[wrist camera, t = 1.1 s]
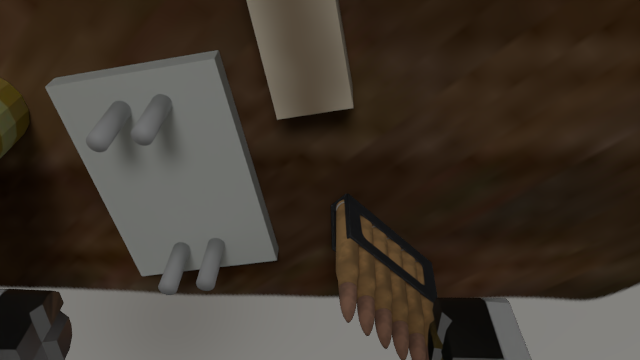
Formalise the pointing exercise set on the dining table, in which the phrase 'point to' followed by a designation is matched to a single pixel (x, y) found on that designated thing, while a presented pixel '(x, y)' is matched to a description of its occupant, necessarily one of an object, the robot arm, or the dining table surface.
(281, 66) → the tan bar
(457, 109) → the dining table surface
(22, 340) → the robot arm
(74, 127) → the peg stand
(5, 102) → the book
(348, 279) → the ammunition clip
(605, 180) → the dining table surface
